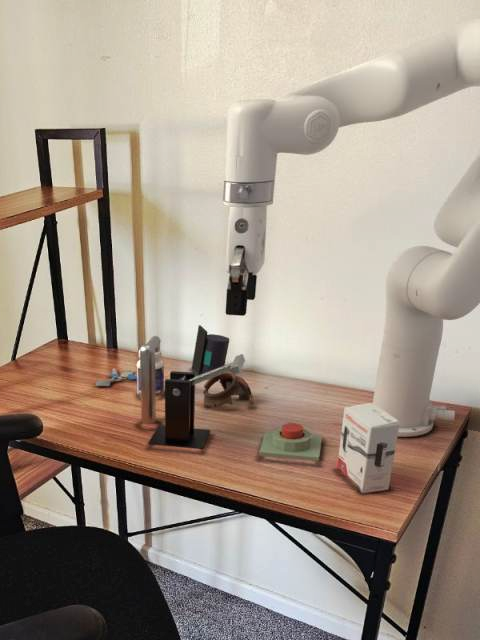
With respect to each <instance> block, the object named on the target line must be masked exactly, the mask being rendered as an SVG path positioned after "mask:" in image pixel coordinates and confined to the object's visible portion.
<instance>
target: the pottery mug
mask: <svg viewBox="0 0 480 640" xmlns="http://www.w3.org/2000/svg"><path fill="white" fill-rule="evenodd" d="M217 382H219V384H220V386H221V387H222V388H223V390H222V391H220V392H217V393H210V392H209V390H210V389H211V387H212V386H214V385H215V383H217ZM203 388H204V390H203V391H202V393H203V403H204V405H205V406H207V407H217V406H218V407H219V406H223V405H225V404H227V405H233V397H232V396H238V400H239V401H248V403H249V404H250V406H253V405H254V400H253V394H252V389H251V387H250V385H249V384H248V382H247V381H246V380H245V379H244V378H242V377H241V376H239V375H237V374H235V375H233V374H232V371H229V372H226V373H224V374H221V375H218V376H216V377H213V378H210V379H208V380H206V382H205V384H204V385H203Z"/></svg>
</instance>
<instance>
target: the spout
mask: <svg viewBox="0 0 480 640" xmlns="http://www.w3.org/2000/svg"><path fill="white" fill-rule="evenodd" d="M161 343H162V341H161V338H160V337H159V336H158V335H154V336H152V337H151V338H149V340H148V341H147V342H146V343H144V344H143V345H141V347H140V348H139V350H140V358H139V360H140V378H141V395H140V411H141V413H140V416H141V418H140V419H141V423H142V424H144V425H152V424H156V422H157V405H156V404H157V403H156V402H157V401H156V399H157V396H156V389H155V353H158V352H160V350H161Z"/></svg>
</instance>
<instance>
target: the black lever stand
mask: <svg viewBox="0 0 480 640" xmlns="http://www.w3.org/2000/svg"><path fill="white" fill-rule="evenodd" d="M183 376H186V377H187V379H191V378H193V377H196V374H195V373H194V372H193V371H174V370H171V371H170V372H169V378H166V379H164V425H158V427H157V428H156V430H155V431H154V433H153V434H152V436H151V438H150V439H149V441H148V445H151V446H153V445H154V446H163V447H173V448H186V449H196V450H203V449H204V448H205V445H206V443H207V440H208V439H209V436H210V433H211V432H212V431H211V429H207V428H206V429H205V428H195V416H196V415H195V407H196V384H195V385H192V386H191V381H190V380H175V379H178V378H180V377H183Z"/></svg>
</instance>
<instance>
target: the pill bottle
mask: <svg viewBox="0 0 480 640" xmlns="http://www.w3.org/2000/svg"><path fill="white" fill-rule="evenodd" d="M161 357H162V350H161V349H160V352H158V353H155V389H156V397H158V396H161V395H165V366H164V365H165V363H164V361H163V360H162V359H161ZM138 358H139V360H138V361H137V362H136V376H137V377H136V394H138V395H139V396H141V378H140V349H139V350H138Z"/></svg>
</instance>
